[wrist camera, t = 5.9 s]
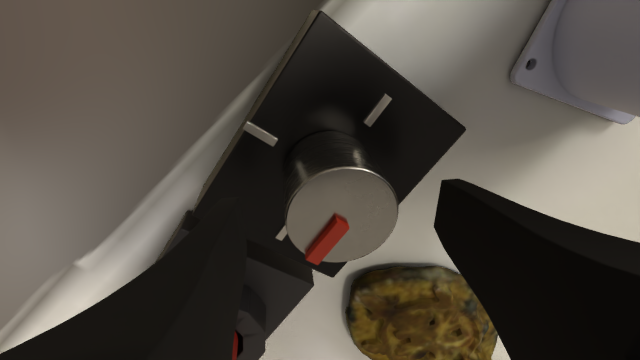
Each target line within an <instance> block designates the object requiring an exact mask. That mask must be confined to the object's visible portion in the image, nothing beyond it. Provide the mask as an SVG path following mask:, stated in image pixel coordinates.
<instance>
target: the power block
mask: <svg viewBox="0 0 640 360" xmlns="http://www.w3.org/2000/svg"><path fill="white" fill-rule="evenodd" d="M192 213H193V212H191V211H189V210H188V211H187V212H186V214H185V215H184V217H183V218H182V220H181V222H180V223H179V225H178V227H177V228H176V230H175V231H174V233H173V235H172V236H171V238H170V240H169V241H168V243H167V244H166V246H165V248H164V249H163V251H162V252H161V254H160V256H159V257H158V259H157V261H159V260H160V259H161V258H162V257H163V256H165V255H166V254H167V253H168V252H169V251H170V250H171V249H172V248H173V247H175V246H176V245H177V244H178V243H179V242H180V241H181V240H182V239H183V238H184V237H185V236H186V235H187V234H188V233H189V232H190V231H191V230H192V229H193V228H194V227H195V226H196V225H197V224H198V223H199V222H200V221H201V220H202V219H199V218H197V217H195V216H193V215H192ZM246 241H247V258H246V272H245V278H244V284H243V289H242V295H241V300H240V306H239V311H238V317H237V322H236V328H235V332H236V333H237V336H238V350H237V359H236V360H259V358H260V357H261V356H262V355H263V354H264V353H265V341H266V339H267V338H268V337H269V336H270V335H271V334H272V333H273V331H274V330H275V329H276V328H277V327H278V326H279V325H280V324H281V322H282V321H283V320H284V319H285V318H286V317H287V316H288V314H289V313H290V312H291V311H292V310H293V309H294V308H295V307H296V305H297V304H298V303H299V302H300V301H301V300H302V299H303V297H304V296H305V295H306V294H307V293H308V292H309V291H310V289H311V288H312V287H313V286H314V281H313V274H312V268H309V267H307V266H305V265H303V264H300V263H298V262H296V261H294V260H291V259H289V258H287V257H285V256H282V255H280V254H278V253H276V252H273V251H271V250H269V249H267V248H265V247H262V246H260V245H258V244H256V243H253V242H251V241H249V240H247V239H246ZM157 261H156V262H157ZM156 262H155V263H156Z"/></svg>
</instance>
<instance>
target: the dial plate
mask: <svg viewBox="0 0 640 360" xmlns="http://www.w3.org/2000/svg"><path fill="white" fill-rule="evenodd" d="M323 131H339V132H344V133H347V134H349V135H352V136H354V137H355V138H357V139H358V140H359V141H361V142H362V143H363V144H364V145H365V147H366V148H367V149H368V151H369V152H370V154H371V156H372V157H373V159H374V160H375V162H376V163H377V165H378V166H379V168H380V169H381V171H382V172H383V174H384V175H385V177H386V178H387V180H388V182H389V183H390V185H391V186H392V188H393V189H394V191H395V193H396V196H397V200H398V205H399V204H400V203H401V202H402V201H403V200H404V199H405V197H406V196H407V195H408V194H409V193H410V192H411V191H412V190H413V189H414V187H415V186H416V185H417V184H418V183H419V182H420V181H421V180H422V179H423V177H424V176H425V175H426V174H427V173H428V172H429V171H430V170H431V169H432V167H433V166H434V165H435V164H436V163H437V162H438V161H439V160H440V159H441V157H442V156H443V155H444V154H445V153H446V152H447V151H448V150H449V149H450V147H451V146H452V145H453V144H454V143H455V142H456V141H457V140H458V139H459V137H460V136H461V135H462V134H463V133H464V132H465V131H466V128H465V127H464V126H463V125H462V124H460V123H459V122H458V121H457V120H456V119H454V118H453V117H452V116H451V115H449V114H448V113H447V112H446V111H444V110H443V109H442V108H441V107H440V106H438V105H437V104H436V103H435V102H433V101H432V100H431V99H430V98H428V97H427V96H426V95H425V94H423V93H422V92H421V91H420V90H419V89H417V88H416V87H415V86H414V85H412V84H411V83H410V82H409V81H407V80H406V79H405V78H404V77H403V76H401V75H400V74H399V73H398V72H396V71H395V70H394V69H393V68H391V67H390V66H389V65H388V64H387V63H385V62H384V61H383V60H382V59H380V58H379V57H378V56H377V55H375V54H374V53H373V52H372V51H370V50H369V49H368V48H367V47H366V46H364V45H363V44H362V43H361V42H359V41H358V40H357V39H356V38H354V37H353V36H352V35H351V34H350V33H348V32H347V31H346V30H345V29H343V28H342V27H341V26H340V25H338V24H337V23H336V22H335V21H334V20H332V19H331V18H330V17H329V16H327V15H326V14H325V13H324V12H322V11H319V10H312V11H311V13H310V14H309V16H308V18H307V19H306V21H305V23H304V24H303V26H302V27H301V29H300V30H299V32H298V34H297V35H296V37H295V39H294V40H293V42H292V43H291V45H290V47H289V48H288V50H287V52H286V53H285V55H284V56H283V58H282V60H281V61H280V63H279V64H278V66H277V68H276V69H275V71H274V73H273V74H272V76H271V77H270V79H269V81H268V82H267V84H266V85H265V87H264V89H263V90H262V92H261V94H260V95H259V97H258V98H257V100H256V102H255V103H254V105H253V107H252V108H251V110H250V111H249V113H248V115H247V116H246V118H245V119H244V121H243V123H242V124H241V126H240V128H239V129H238V131H237V132H236V134H235V136H234V137H233V139H232V140H231V142H230V144H229V145H228V147H227V149H226V150H225V152H224V153H223V155H222V157H221V158H220V160H219V162H218V163H217V165H216V166H215V168H214V170H213V171H212V173H211V174H210V176H209V178H208V179H207V181H206V183H205V184H204V186H203V187H202V190H201V192H200V195H199V197H198V200H197V203H196V205H195V208H194V210H193V213H192V215H193V216H195V217H197V218H199V219H203V217H204V216H205V215H206V214H207V213H208V212H209V211H210V210H211V209H212V207H213V206H214V205H215V204H216V203H217V202H218V201H219V200H220V199H221V198H233V197H239V200H240V206H241V212H242V218H243V223H244V229H245V235H246V239H247V240H249V241H251V242H253V243H256V244H258V245H260V246H262V247H265V248H267V249H269V250H271V251H273V252H276V253H278V254H280V255H282V256H285V257H287V258H289V259H291V260H294V261H296V262H298V263H300V264H303V265H305V266H307V267H309V268H312V269H314V270H316V271H318V272H321V273H323V274H325V275H327V276H330V277H332V278H333V277H334V276H335V275H336V274H337V273H338V272H339V271H340V270H341V268H342V267H343V266H344V265H345V264H346V263H347V262H348V261H346V262H325V261H321V262H320V263H319V265H316V264H314V263H312V262H309V261H307V260H306V259H305V254H304V253H303V252H301V251H300V250H299V249H298V248H297V247H296V246H295V245H294V244H293V242H292V241H291V240H290V238H289V236H288V233H287V230H286V226H285V213H284V193H283V167H284V163H285V160H286V158H287V156H288V154H289V153H290V151H291V150H292V149H293V147H294V146H295V145H296V144H298V143H299V142H300V141H301V140H303V139H304V138H306V137H308V136H310V135H312V134H315V133H319V132H323Z"/></svg>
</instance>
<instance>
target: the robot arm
mask: <svg viewBox="0 0 640 360" xmlns="http://www.w3.org/2000/svg"><path fill="white" fill-rule="evenodd" d="M528 60H531V63H530V65H529V66H528V67H527V68H526V63H527V62H528ZM510 79H511V82H512V83H514V84H516V85H519V86H521V87H524V88H527V89H529V90H532V91H535V92H537V93H540V94H542V95H545V96H548V97H550V98H553V99H556V100H558V101H561V102H564V103H566V104H569V105H571V106H574V107H577V108H579V109H582V110H585V111H587V112H590V113H592V114H595V115H598V116H600V117H603V118H606V119H608V120H611V121H614V122H616V123H619V124H627V123H629V122H630V121H632V120H633V119H634V118H635V116H638V117H640V0H551V2H550V4H549V5H548V7H547V9H546V11H545V13H544V14H543V16H542V18H541V20H540V21H539V23H538V25H537V27H536V29H535V30H534V32H533V34H532V36H531V37H530V39H529V41H528V43H527V44H526V46H525V48H524V50H523V52H522V53H521V55H520V57H519V59H518V60H517V62H516V64H515V66H514V68H513V69H512V71H511V74H510ZM434 228H435V230H436V233H437V235H438V237H439V239H440V241H441V243H442V245H443V247H444V249H445V251H446V252H447V254H448V255H449V257H450V258H451V260H452V261H453V263H454V264H455V266H456V267H457V269H458V270H459V272H460V273H461V275H462V276H463V278H464V279H465V281H466V282H467V284H468V285H469V286H470V288H471V289H472V291H473V292H474V294H475V295H476V297H477V298H478V300H479V301H480V303H481V304H482V306H483V308H484V309H485V311H486V313H487V314H488V316H489V318H490V320H491V322H492V324H493V326H494V328H495V329H496V331H497V333H498V335H499V337H500V339H501V341H502V343H503V345H504V347H505V349H506V351H507V353H508V355H509V357H510V359H511V360H640V243H639V242H634V241H630V240H626V239H623V238H619V237H615V236H611V235H607V234H603V233H600V232H596V231H593V230H589V229H586V228H583V227H580V226H577V225H574V224H571V223H568V222H565V221H561V220H559V219H556V218H553V217H550V216H548V215H545V214H543V213H540V212H537V211H535V210H532V209H530V208H527V207H525V206H522V205H520V204H518V203H515V202H513V201H511V200H508V199H506V198H504V197H501V196H499V195H497V194H495V193H492V192H490V191H488V190H486V189H483V188H481V187H479V186H476V185H474V184H472V183H469V182H466V181H464V180H460V179H449V180H442V182H441V187H440V193H439V199H438V204H437V210H436V216H435V222H434ZM246 258H247V241H246V235H245V229H244V223H243V218H242V212H241V206H240V200H239V197H233V198H221V199H220V200H219V201H218V202H217V203H216V204H215V205H214V206H213V207H212V209H211V210H210V211H209V212H208V213H207V214H206V215H205V216H204V217H203V219H202V220H201V221H200V222H199V223H198V224H197V225H196V226H195V227H194V228H193V229H192V230H191V231H190V232H189V233H188V234H187V235H186V236H185V237H184V238H183V239H182V240H181V241H180V242H179V243H178V244H177V245H176V246H175V247H173V248H172V249H171V250H170V251H169V252H168V253H167V254H166V255H165V256H163V257H162V258H161V259H160V260H159V261H157V262H156V263H155V264H153V265H152V266H151V267H150V268H148V269H147V270H146V271H144V272H143V273H142V274H140V275H139V276H138V277H136V278H135V279H133V280H132V281H130V282H129V283H127V284H126V285H124V286H123V287H121V288H120V289H118V290H117V291H115V292H114V293H112V294H111V295H109V296H108V297H106V298H105V299H103V300H101V301H100V302H98V303H96V304H95V305H93V306H91V307H90V308H88V309H86V310H85V311H83V312H81V313H79V314H78V315H76V316H74V317H72V318H70V319H69V320H67V321H65V322H63V323H61V324H59V325H58V326H56V327H54V328H52V329H50V330H48V331H46V332H44V333H42V334H40V335H38V336H36V337H34V338H32V339H30V340H28V341H26V342H24V343H22V344H20V345H18V346H16V347H14V348H12V349H9V350H7V351H5V352H3V353H1V354H0V360H232V354H233V342H234V335H235V328H236V322H237V317H238V311H239V306H240V300H241V295H242V289H243V284H244V278H245V272H246Z"/></svg>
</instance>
